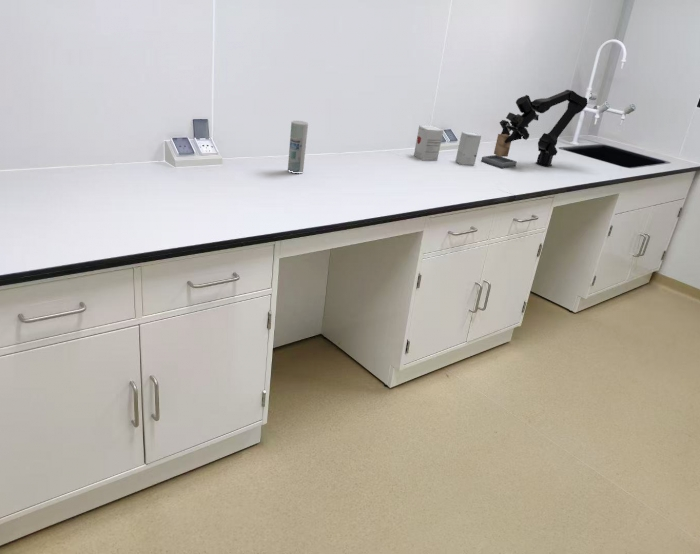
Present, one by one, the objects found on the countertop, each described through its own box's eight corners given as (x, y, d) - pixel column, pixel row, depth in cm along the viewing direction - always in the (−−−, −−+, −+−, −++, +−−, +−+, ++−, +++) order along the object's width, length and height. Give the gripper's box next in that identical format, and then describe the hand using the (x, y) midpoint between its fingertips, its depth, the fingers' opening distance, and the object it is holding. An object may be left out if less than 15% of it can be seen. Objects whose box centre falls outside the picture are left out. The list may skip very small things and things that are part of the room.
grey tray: (515, 166, 296) (516, 161, 295) (501, 168, 288) (502, 163, 287) (495, 159, 304) (496, 154, 303) (481, 161, 296) (482, 156, 295)
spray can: (284, 171, 235) (288, 121, 227) (293, 168, 241) (297, 119, 232) (297, 175, 233) (302, 125, 224) (306, 172, 238) (311, 123, 230)
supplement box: (413, 155, 289) (418, 124, 283) (428, 155, 293) (434, 125, 287) (422, 160, 282) (428, 129, 276) (437, 160, 286) (443, 130, 280)
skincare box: (460, 164, 284) (466, 134, 278) (454, 161, 289) (461, 131, 283) (475, 165, 287) (482, 135, 281) (469, 162, 292) (476, 132, 286)
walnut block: (501, 153, 297) (506, 134, 293) (507, 156, 293) (512, 136, 289) (493, 153, 295) (498, 134, 291) (499, 156, 291) (504, 136, 287)
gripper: (507, 103, 293) (484, 124, 293) (530, 111, 278) (506, 134, 278) (515, 119, 300) (493, 140, 300) (539, 128, 285) (515, 150, 285)
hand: (501, 141), depth 291 cm, fingers closed on walnut block, 5 cm apart
